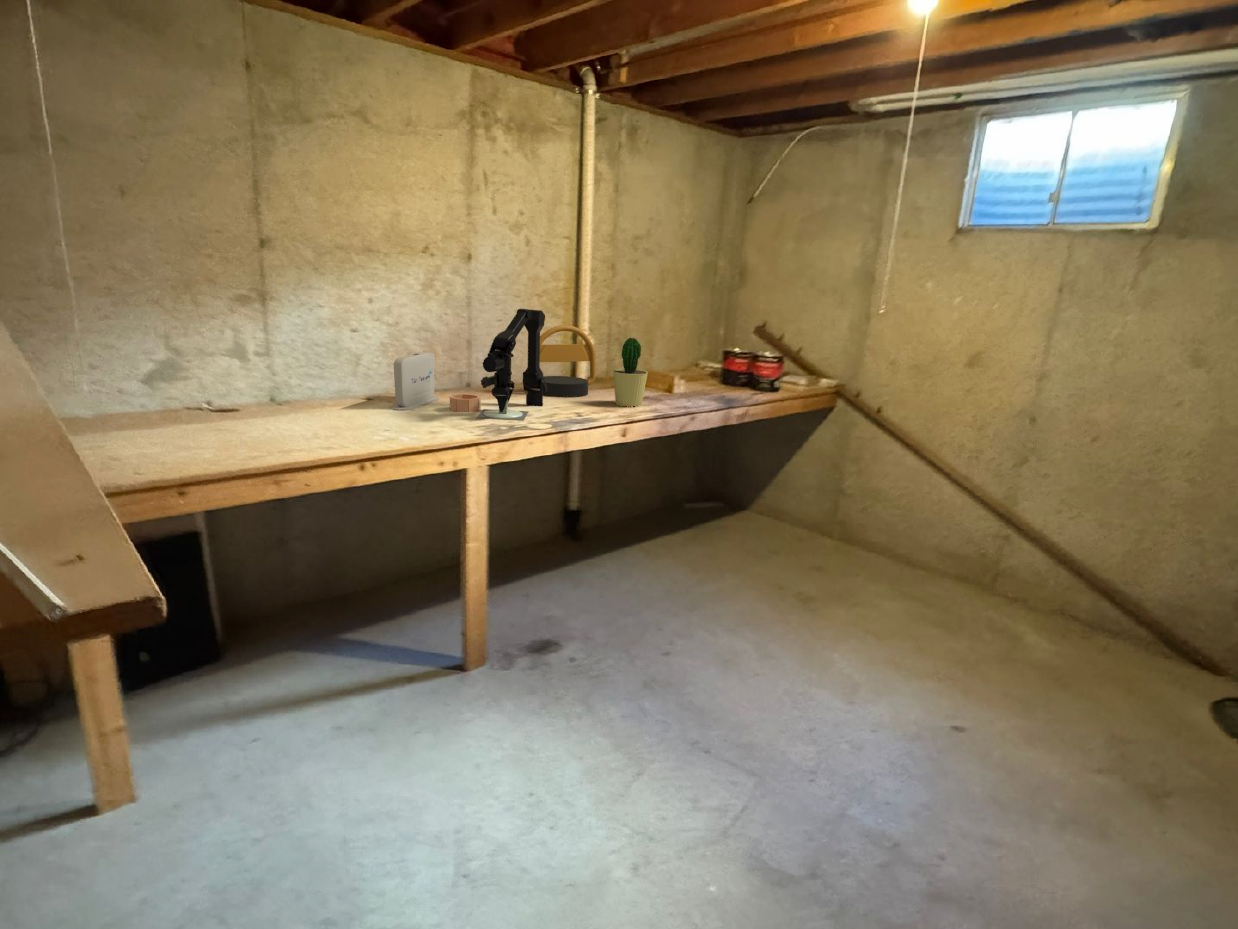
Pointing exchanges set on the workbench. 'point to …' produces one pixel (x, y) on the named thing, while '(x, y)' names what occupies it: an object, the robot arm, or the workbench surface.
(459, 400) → the bowl
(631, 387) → the potted cactus
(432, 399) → the wireless router
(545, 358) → the chair
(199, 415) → the workbench surface
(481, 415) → the mat
